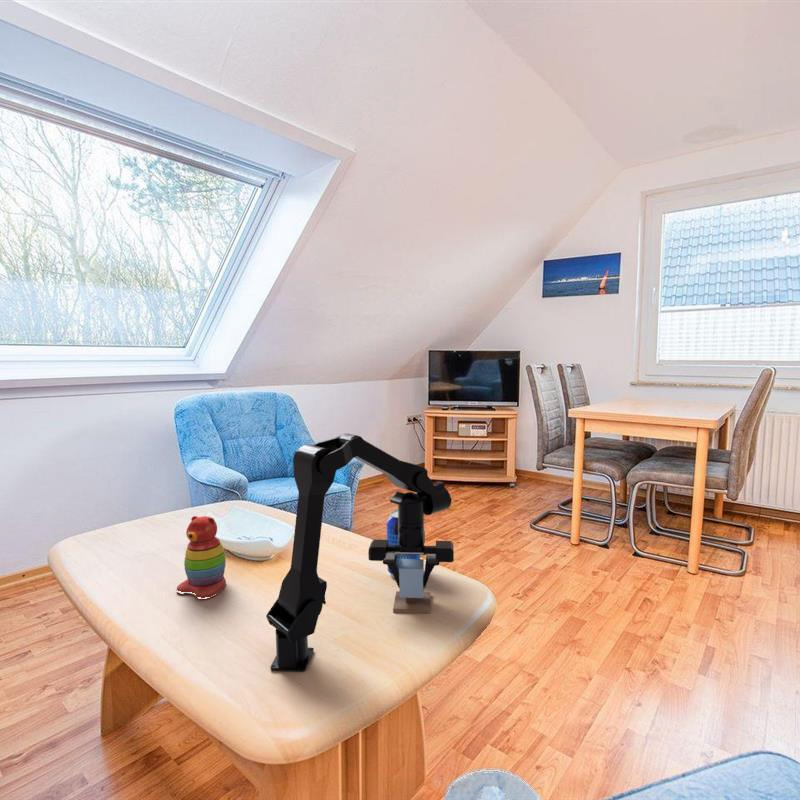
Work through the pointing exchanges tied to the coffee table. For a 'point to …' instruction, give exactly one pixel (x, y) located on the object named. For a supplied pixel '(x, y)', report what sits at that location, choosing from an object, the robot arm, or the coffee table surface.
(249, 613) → the coffee table surface
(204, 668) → the coffee table surface
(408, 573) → the pale blue foam brick
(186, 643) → the coffee table surface
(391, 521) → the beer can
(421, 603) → the brown square stand
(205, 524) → the stacking bear
